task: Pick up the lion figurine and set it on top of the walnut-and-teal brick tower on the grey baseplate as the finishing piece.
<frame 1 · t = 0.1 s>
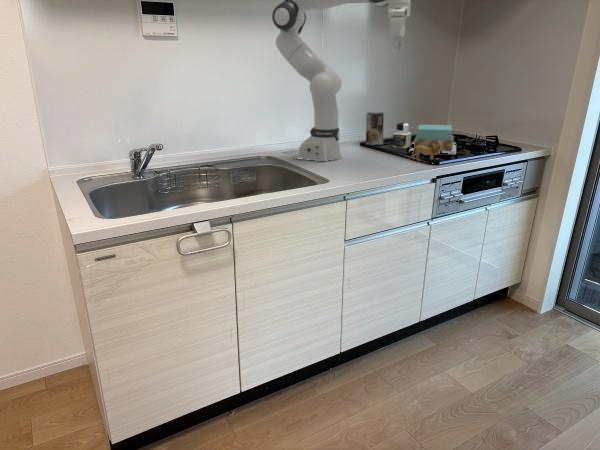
hand: (397, 49, 186), 48 cm above the worktop, tool pointing down, fingers open, 8 cm apart
coffee box: (374, 143, 240), on the worktop
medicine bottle: (401, 146, 232), on the worktop
lion figurine: (425, 160, 204), on the worktop
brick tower: (433, 148, 225), on the worktop
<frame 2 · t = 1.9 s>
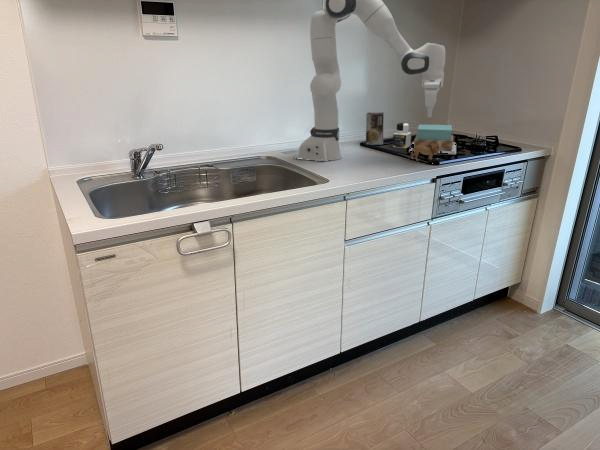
hand: (430, 115, 196), 20 cm above the worktop, tool pointing down, fingers open, 8 cm apart
nothing on the worktop moved.
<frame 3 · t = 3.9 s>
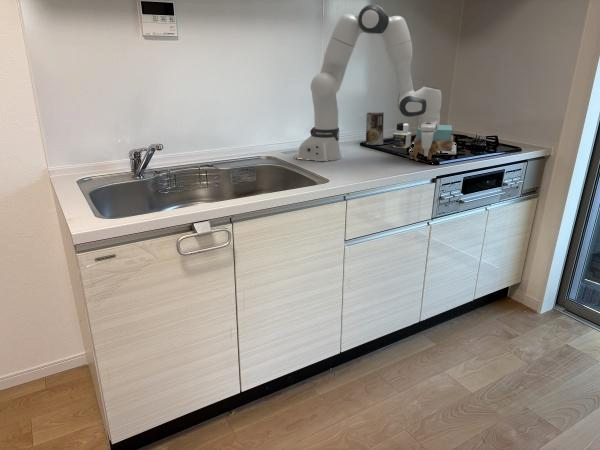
hand: (426, 154, 202), 3 cm above the worktop, tool pointing down, fingers open, 4 cm apart
lion figurine: (423, 160, 204), on the worktop, touching gripper
everything else where it was.
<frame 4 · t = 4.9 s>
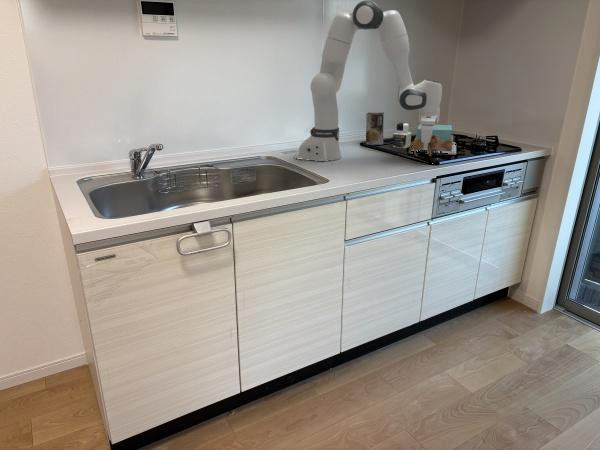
hand: (425, 148, 202), 5 cm above the worktop, tool pointing down, fingers closed on lion figurine, 4 cm apart
lion figurine: (423, 154, 204), point 2 cm above the worktop, touching gripper
everything else where it was.
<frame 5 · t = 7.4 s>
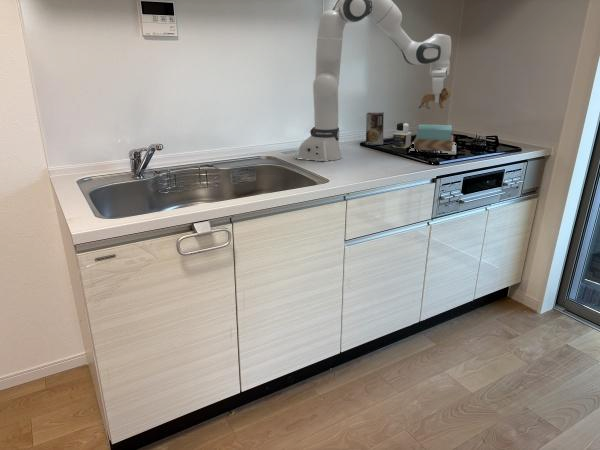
hand: (437, 101, 212), 24 cm above the worktop, tool pointing down, fingers closed on lion figurine, 4 cm apart
lion figurine: (435, 107, 214), point 21 cm above the worktop, touching gripper
everything else where it was.
when the fingers open (15 cm above the worktop, at t = 9.7 s): lion figurine moves 1 cm, resting on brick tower.
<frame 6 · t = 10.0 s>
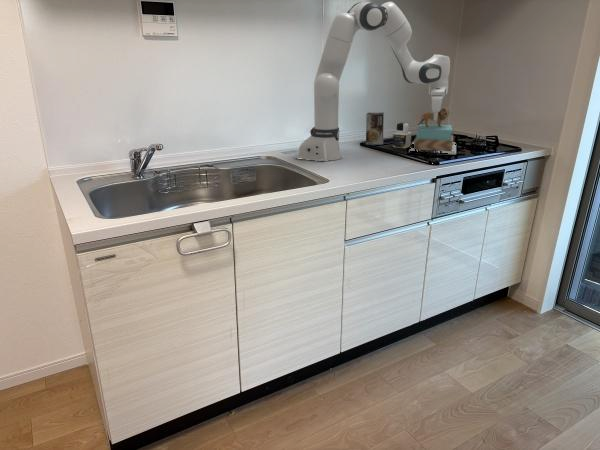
hand: (435, 118, 219), 15 cm above the worktop, tool pointing down, fingers open, 7 cm apart
lion figurine: (433, 125, 223), point 11 cm above the worktop, touching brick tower, gripper
everything else where it was.
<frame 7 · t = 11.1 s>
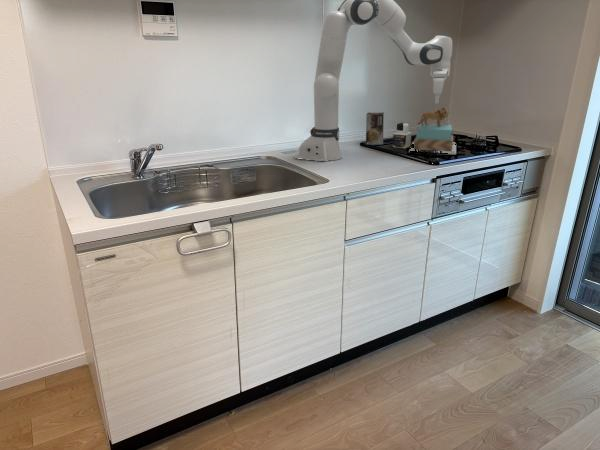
hand: (436, 102, 216), 23 cm above the worktop, tool pointing down, fingers open, 8 cm apart
lion figurine: (433, 126, 224), point 11 cm above the worktop, touching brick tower
everything else where it was.
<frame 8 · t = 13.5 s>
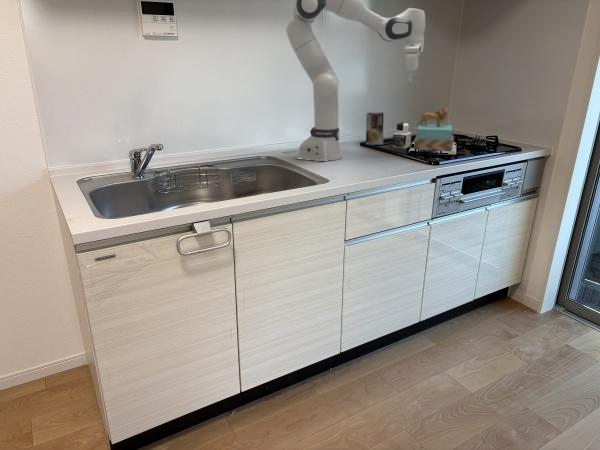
hand: (411, 80, 203), 34 cm above the worktop, tool pointing down, fingers open, 8 cm apart
at the end: lion figurine inside the target area on the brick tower (3.5 cm from its centre), point 10.6 cm above the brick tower's base; lion figurine tilted 0°; the gripper is holding nothing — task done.
